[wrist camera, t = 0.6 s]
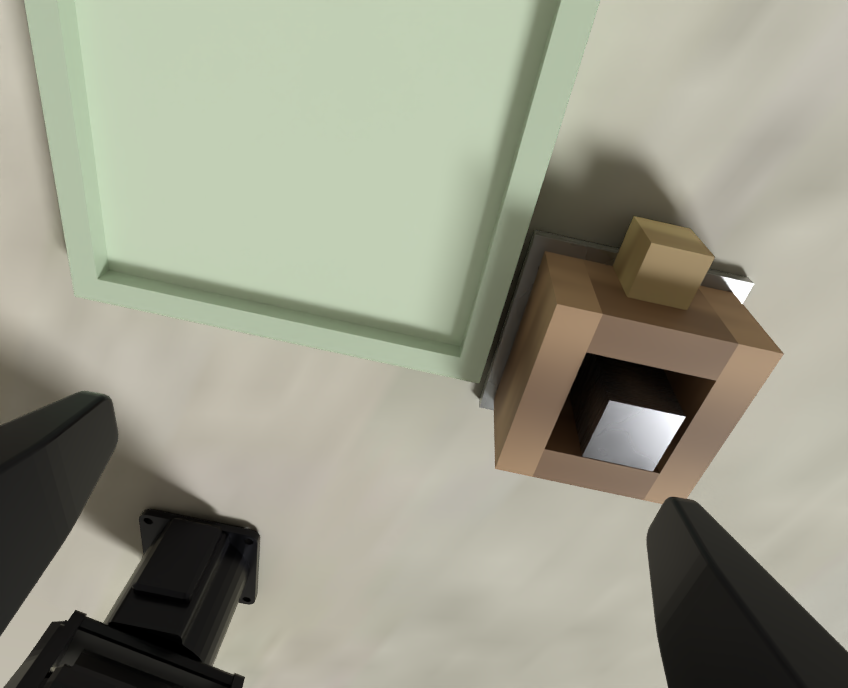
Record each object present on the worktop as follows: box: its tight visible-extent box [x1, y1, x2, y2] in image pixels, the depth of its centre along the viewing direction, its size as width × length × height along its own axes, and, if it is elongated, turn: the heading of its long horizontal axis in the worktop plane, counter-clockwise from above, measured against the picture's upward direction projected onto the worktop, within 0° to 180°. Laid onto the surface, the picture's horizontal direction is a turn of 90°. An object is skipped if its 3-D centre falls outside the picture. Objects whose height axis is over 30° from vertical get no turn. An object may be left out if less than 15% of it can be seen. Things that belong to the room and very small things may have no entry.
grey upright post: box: [479, 230, 754, 471], centre depth 20 cm, size 8×8×6 cm
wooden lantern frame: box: [494, 216, 783, 504], centre depth 20 cm, size 9×7×4 cm
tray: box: [24, 0, 600, 383], centre depth 18 cm, size 16×16×2 cm
